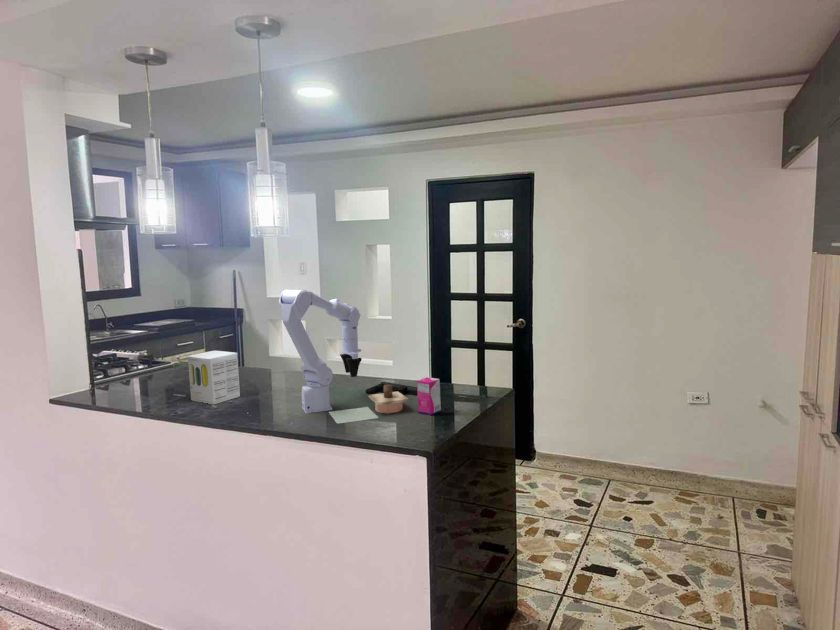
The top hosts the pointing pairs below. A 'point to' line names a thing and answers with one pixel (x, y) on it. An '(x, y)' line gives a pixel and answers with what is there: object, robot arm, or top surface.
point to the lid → (388, 396)
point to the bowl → (389, 407)
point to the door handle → (395, 387)
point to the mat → (352, 415)
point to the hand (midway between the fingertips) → (351, 374)
